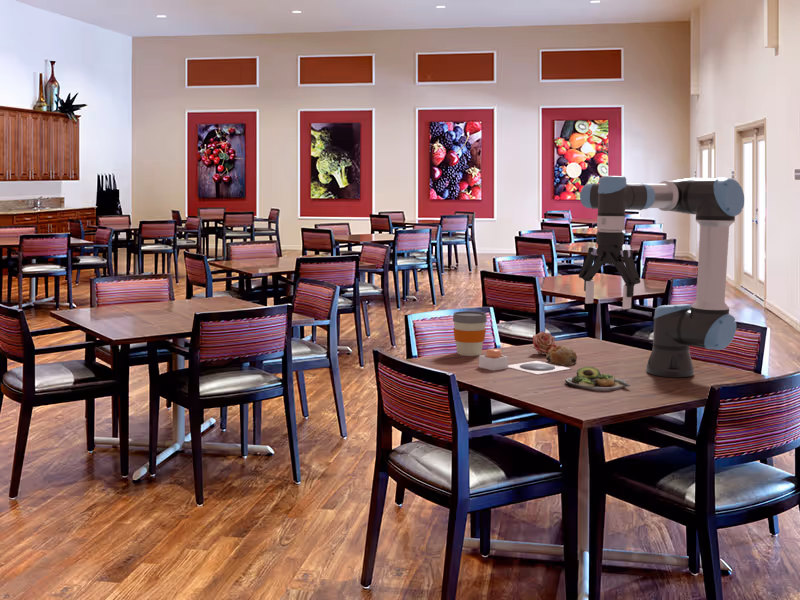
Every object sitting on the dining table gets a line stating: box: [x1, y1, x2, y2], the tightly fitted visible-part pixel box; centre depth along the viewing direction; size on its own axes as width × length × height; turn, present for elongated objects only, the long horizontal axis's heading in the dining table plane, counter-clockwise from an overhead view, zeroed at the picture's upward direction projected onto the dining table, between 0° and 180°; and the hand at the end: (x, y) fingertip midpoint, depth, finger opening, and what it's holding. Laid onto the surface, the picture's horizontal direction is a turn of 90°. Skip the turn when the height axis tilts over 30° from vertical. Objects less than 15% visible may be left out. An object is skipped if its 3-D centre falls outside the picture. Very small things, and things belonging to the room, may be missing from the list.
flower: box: [529, 331, 558, 355], centre depth 319 cm, size 10×9×8 cm
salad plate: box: [564, 366, 631, 392], centre depth 269 cm, size 19×18×5 cm
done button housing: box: [478, 354, 509, 371], centre depth 294 cm, size 7×7×4 cm
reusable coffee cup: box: [452, 310, 488, 357], centre depth 319 cm, size 13×13×15 cm
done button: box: [485, 348, 502, 358], centre depth 294 cm, size 5×5×3 cm
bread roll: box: [545, 345, 578, 366], centre depth 304 cm, size 10×10×8 cm
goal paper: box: [507, 360, 572, 376], centre depth 294 cm, size 16×16×1 cm
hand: (607, 306), depth 245 cm, fingers open, 13 cm apart
